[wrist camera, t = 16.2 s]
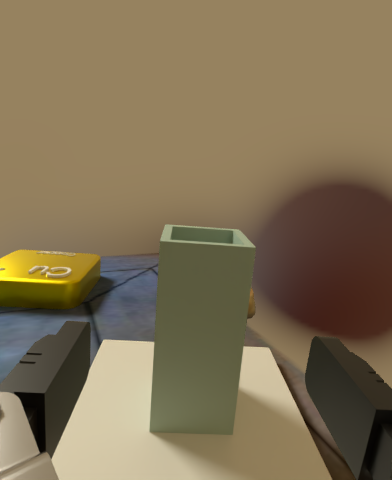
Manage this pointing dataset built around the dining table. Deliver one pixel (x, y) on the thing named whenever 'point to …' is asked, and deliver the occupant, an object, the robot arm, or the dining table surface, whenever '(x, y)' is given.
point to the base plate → (183, 444)
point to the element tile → (47, 279)
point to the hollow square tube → (199, 328)
